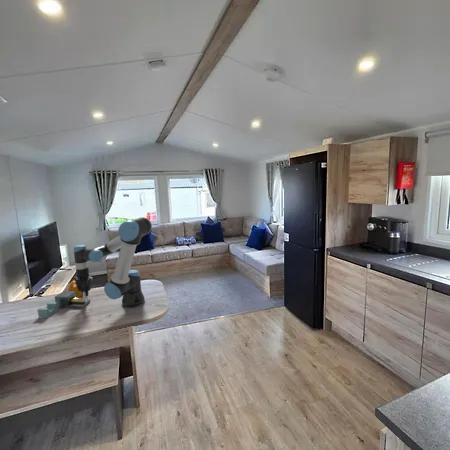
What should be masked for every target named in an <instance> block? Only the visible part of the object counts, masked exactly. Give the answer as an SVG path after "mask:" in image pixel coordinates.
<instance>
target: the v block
mask: <svg viewBox="0 0 450 450" xmlns="http://www.w3.org/2000/svg"><path fill="white" fill-rule="evenodd" d="M58 311H59V308H58V303H57V302H55V301H53V302H52V301H48V302H46V307H39V308H38V309H37V314H38V315H37V316H38V318H40V319H42V318H44V319H45V318H46V319H47V318H50V317H51V316H52V315H54V314H55V313H56V312H58Z"/></svg>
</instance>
